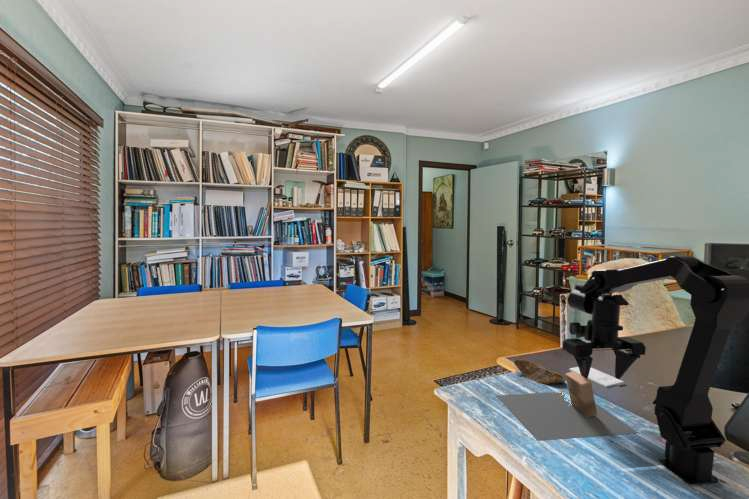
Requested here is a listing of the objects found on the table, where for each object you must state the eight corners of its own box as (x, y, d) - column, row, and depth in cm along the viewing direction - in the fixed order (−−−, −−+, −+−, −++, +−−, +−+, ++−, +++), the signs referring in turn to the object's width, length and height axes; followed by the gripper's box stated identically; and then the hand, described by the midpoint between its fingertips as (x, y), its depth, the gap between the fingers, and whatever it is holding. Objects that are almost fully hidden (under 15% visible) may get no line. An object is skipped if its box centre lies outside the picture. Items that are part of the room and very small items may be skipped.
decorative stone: (525, 351, 119) (572, 371, 107) (522, 363, 119) (569, 385, 108) (510, 358, 112) (559, 380, 101) (508, 371, 113) (556, 394, 102)
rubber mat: (639, 434, 81) (639, 433, 81) (537, 442, 78) (537, 440, 78) (578, 392, 101) (578, 390, 101) (495, 396, 98) (495, 395, 98)
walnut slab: (597, 414, 87) (590, 381, 86) (588, 417, 87) (581, 384, 86) (580, 402, 93) (574, 370, 92) (571, 405, 93) (565, 373, 92)
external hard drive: (586, 369, 118) (624, 386, 106) (568, 373, 115) (605, 390, 103) (586, 364, 118) (625, 380, 106) (568, 368, 115) (606, 385, 103)
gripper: (614, 310, 98) (610, 364, 99) (551, 311, 96) (547, 367, 97) (649, 322, 87) (644, 383, 88) (579, 323, 85) (575, 386, 86)
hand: (601, 379), depth 90 cm, fingers open, 9 cm apart
